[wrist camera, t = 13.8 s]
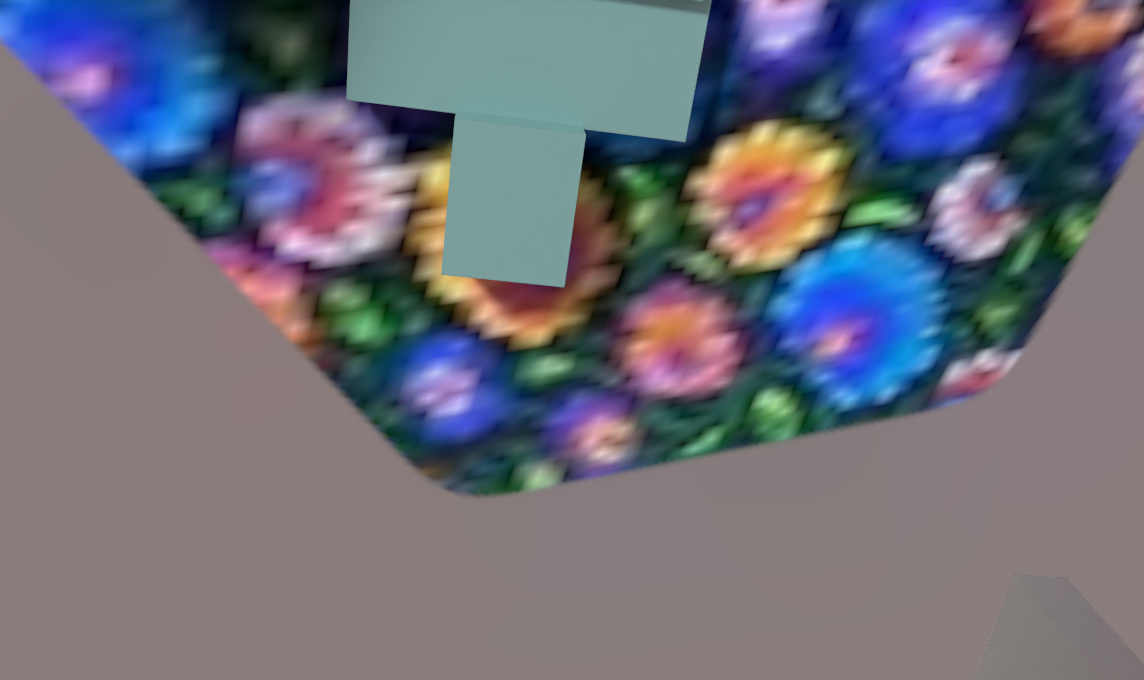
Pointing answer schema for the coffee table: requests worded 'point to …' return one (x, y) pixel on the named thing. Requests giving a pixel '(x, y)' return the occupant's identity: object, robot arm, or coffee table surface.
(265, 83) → the coffee table surface
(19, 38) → the coffee table surface
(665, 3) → the lid
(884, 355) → the coffee table surface
